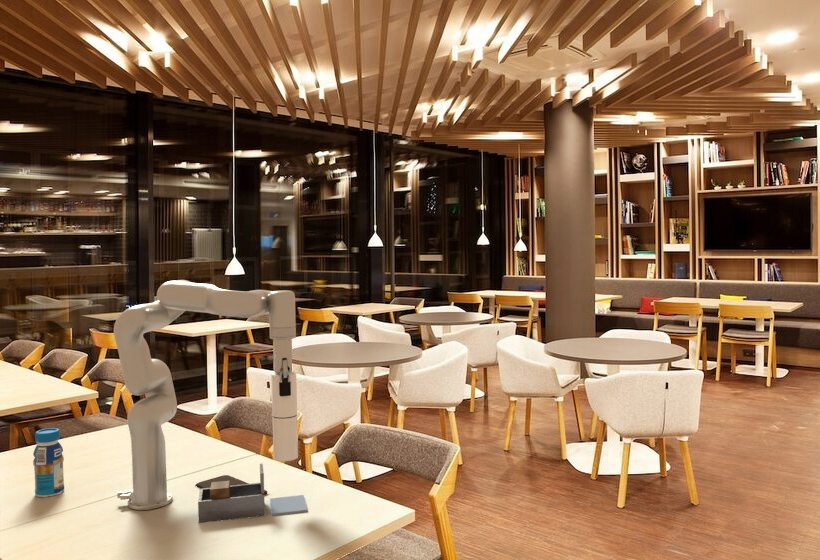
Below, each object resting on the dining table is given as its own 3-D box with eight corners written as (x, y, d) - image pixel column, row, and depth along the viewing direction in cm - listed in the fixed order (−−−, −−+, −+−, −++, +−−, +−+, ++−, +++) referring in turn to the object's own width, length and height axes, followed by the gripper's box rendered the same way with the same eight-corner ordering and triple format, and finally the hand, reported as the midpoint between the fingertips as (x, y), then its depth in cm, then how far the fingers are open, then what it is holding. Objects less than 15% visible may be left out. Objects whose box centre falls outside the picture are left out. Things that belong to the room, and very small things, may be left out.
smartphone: (227, 473, 221) (269, 490, 204) (227, 478, 221) (269, 495, 204) (193, 483, 212) (234, 501, 195) (193, 488, 212) (234, 506, 195)
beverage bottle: (30, 493, 207) (28, 431, 206) (59, 486, 213) (56, 425, 212) (39, 500, 201) (37, 435, 200) (69, 492, 207) (66, 430, 207)
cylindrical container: (268, 459, 191) (266, 374, 190) (282, 452, 197) (280, 370, 196) (289, 462, 188) (287, 376, 187) (302, 455, 195) (300, 371, 194)
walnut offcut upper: (210, 503, 185) (210, 489, 185) (212, 495, 191) (211, 482, 191) (228, 501, 186) (228, 487, 186) (229, 494, 192) (229, 480, 192)
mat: (272, 515, 186) (272, 513, 186) (270, 500, 198) (270, 498, 198) (307, 511, 189) (307, 509, 189) (303, 496, 201) (303, 494, 201)
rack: (198, 523, 182) (197, 480, 182) (200, 508, 192) (199, 468, 192) (264, 515, 187) (263, 474, 186) (263, 502, 197) (262, 462, 196)
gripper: (268, 330, 199) (269, 388, 199) (271, 337, 182) (272, 400, 183) (293, 328, 201) (294, 386, 201) (298, 335, 184) (299, 398, 185)
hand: (284, 392), depth 192 cm, fingers closed on cylindrical container, 7 cm apart
